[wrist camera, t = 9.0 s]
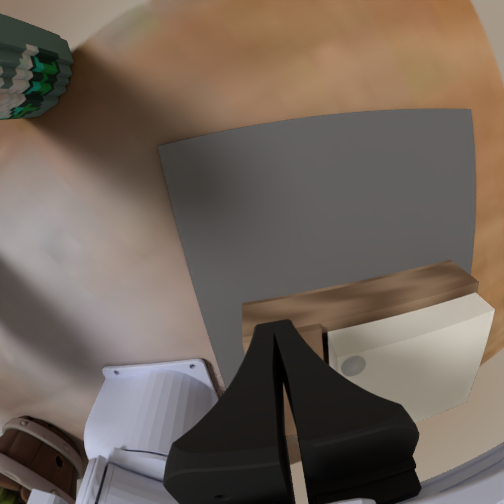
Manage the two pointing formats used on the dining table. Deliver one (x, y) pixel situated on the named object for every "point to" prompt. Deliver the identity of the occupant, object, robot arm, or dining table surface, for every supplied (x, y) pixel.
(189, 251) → the desk mat
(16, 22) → the can
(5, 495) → the flowerpot
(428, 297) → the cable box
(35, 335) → the dining table surface
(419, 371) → the lid
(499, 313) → the dining table surface
